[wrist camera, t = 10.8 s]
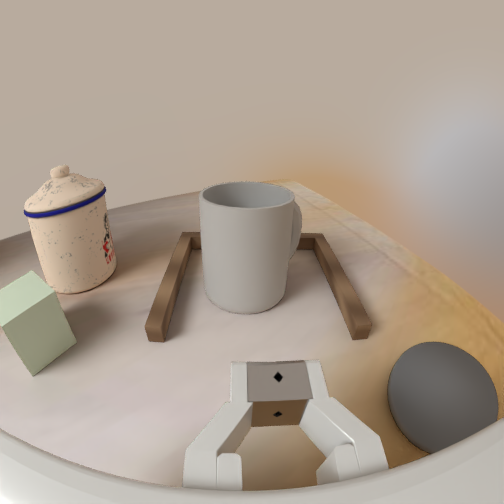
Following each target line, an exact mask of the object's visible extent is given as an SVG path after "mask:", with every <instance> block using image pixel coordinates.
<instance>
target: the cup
mask: <svg viewBox="0 0 504 504" xmlns="http://www.w3.org/2000/svg"><path fill="white" fill-rule="evenodd" d="M294 199H295V196H294V194H293V192H291V191H290V190H288V189H286V188H283V187H281V186H277V185H273V184H268V183H261V182H228V183H221V184H216V185H212V186H209V187H207V188H205V189H203V190H202V191H200V193H199V213H200V232H201V249H202V264H203V277H204V286H205V291H206V295H207V296H208V298H209V299H210V300H211V301H212V302H213V303H214V304H215V305H216V306H218V307H219V308H221V309H223V310H225V311H228V312H231V313H237V314H254V313H260V312H263V311H266V310H268V309H270V308H272V307H273V306H275V305H276V304H277V303H278V302H279V301H280V300H281V299H282V297H283V296H284V292H285V288H286V282H287V273H288V264H289V260H290V259H291V257H292V256H293V254H294V253H295V251H296V248H297V246H298V244H299V240H300V235H301V228H302V215H301V211H300V208H299V206H298V205H297V204H296V203H295V201H294Z"/></svg>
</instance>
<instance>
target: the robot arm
mask: <svg viewBox="0 0 504 504" xmlns="http://www.w3.org/2000/svg"><path fill="white" fill-rule="evenodd" d="M283 425H299V427H300V428H301V429H302V430H303V431H304V432H305V434H306V435H307V436H308V437H309V438H310V440H311V441H312V442H313V443H314V444H315V445H316V446H317V448H318V449H319V450H320V451H321V452H322V453H323V454H324V455H325V457H326V458H327V459H326V460H325V461H324V462H323V463H322V465H321V466H320V467H319V468H318V469H317V470H316V477H317V484H318V485H316V486H309V487H301V488H292V489H281V490H264V491H242V464H241V457H240V456H239V455H238V454H236V453H235V452H236V450H237V449H238V447H239V446H240V444H241V443H242V441H243V440H244V438H245V437H246V435H247V434H248V432H249V430H250V429H251V427H263V426H283ZM0 504H504V417H502V418H501V419H499V420H498V421H496V422H494V423H493V424H491V425H489V426H488V427H486V428H484V429H482V430H481V431H479V432H477V433H475V434H473V435H471V436H469V437H467V438H465V439H464V440H461V441H459V442H457V443H455V444H453V445H451V446H449V447H447V448H444V449H442V450H440V451H438V452H435V453H433V454H430V455H428V456H425V457H423V458H420V459H418V460H415V461H412V462H409V463H406V464H404V465H401V466H397V467H394V468H391V469H389V466H388V463H387V459H386V456H385V453H384V449H383V446H382V443H381V439H380V436H378V435H377V434H376V433H375V432H374V431H372V430H371V429H370V428H369V427H368V426H367V425H365V424H364V423H363V422H362V421H361V420H359V419H358V418H357V417H356V416H355V415H354V414H352V413H351V412H350V411H349V410H348V409H347V408H346V407H344V406H343V405H342V404H341V403H340V402H339V401H338V400H336V399H335V398H334V397H329V393H328V389H327V385H326V381H325V378H324V374H323V370H322V366H321V363H320V361H319V360H298V361H278V362H247V363H246V362H231V384H230V402H225V404H224V405H223V406H222V407H221V409H220V410H219V411H218V412H217V413H216V415H215V416H214V417H213V418H212V420H211V421H210V422H209V423H208V424H207V425H206V427H205V428H204V429H203V430H202V431H201V433H200V434H199V435H198V436H197V437H196V438H195V440H194V441H193V442H192V443H191V444H190V445H189V446H188V448H187V449H186V451H185V461H184V472H183V483H182V488H181V487H173V486H166V485H160V484H154V483H148V482H143V481H138V480H133V479H129V478H125V477H120V476H116V475H113V474H109V473H105V472H102V471H98V470H95V469H92V468H89V467H86V466H83V465H80V464H77V463H74V462H71V461H68V460H66V459H63V458H61V457H58V456H56V455H53V454H51V453H48V452H46V451H44V450H41V449H39V448H37V447H35V446H33V445H31V444H29V443H27V442H24V441H22V440H21V439H19V438H17V437H15V436H13V435H11V434H9V433H7V432H6V431H4V430H2V429H0Z"/></svg>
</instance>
